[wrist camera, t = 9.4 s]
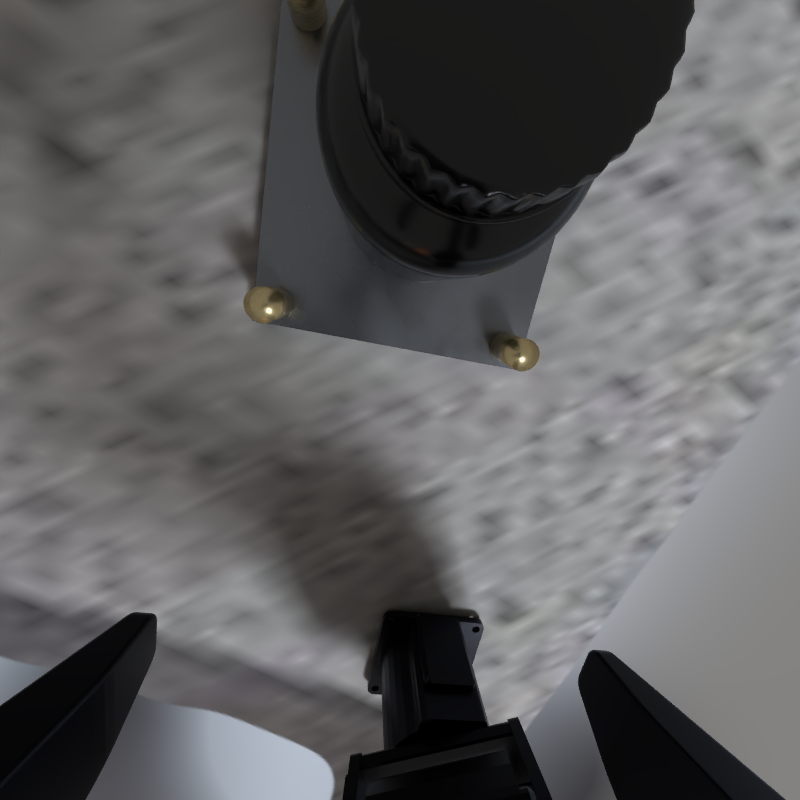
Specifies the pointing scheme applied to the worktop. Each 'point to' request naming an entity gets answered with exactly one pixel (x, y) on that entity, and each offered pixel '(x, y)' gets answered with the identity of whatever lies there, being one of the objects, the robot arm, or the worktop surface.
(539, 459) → the worktop surface
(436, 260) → the supplement bottle
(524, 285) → the chassis plate
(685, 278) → the worktop surface
